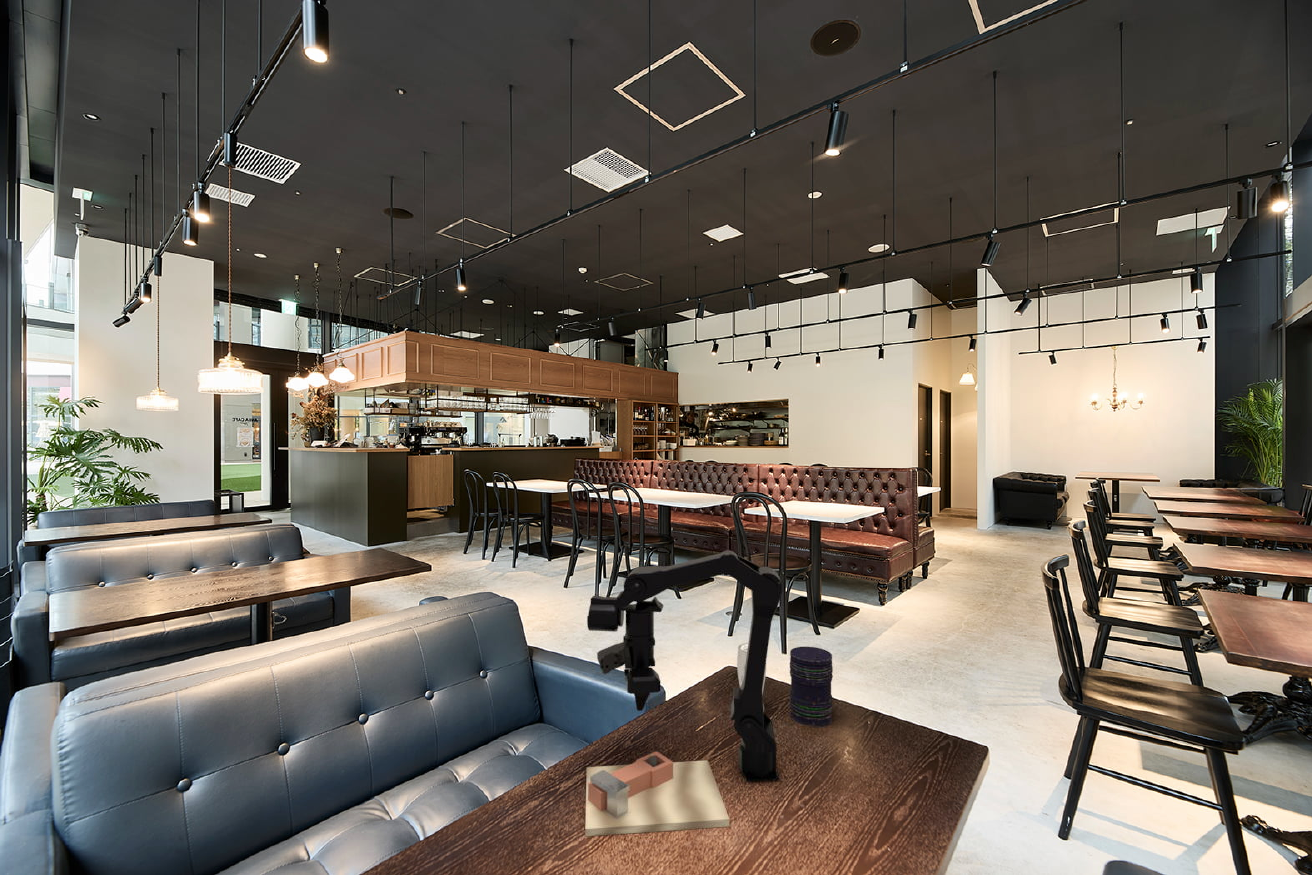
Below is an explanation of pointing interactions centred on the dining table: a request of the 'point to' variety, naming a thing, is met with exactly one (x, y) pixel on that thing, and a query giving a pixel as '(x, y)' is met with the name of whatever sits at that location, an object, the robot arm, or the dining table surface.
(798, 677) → the storage jar
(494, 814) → the dining table surface
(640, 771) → the link
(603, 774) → the block
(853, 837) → the dining table surface
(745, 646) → the beer glass
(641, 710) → the robot arm
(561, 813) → the dining table surface
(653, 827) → the board
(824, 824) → the dining table surface
